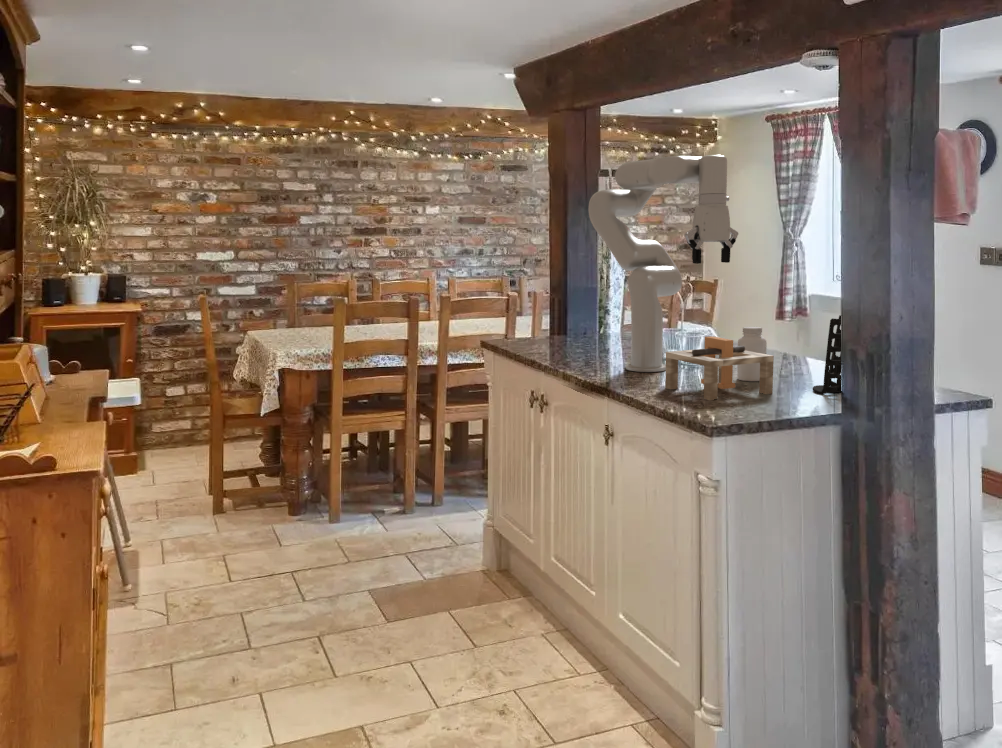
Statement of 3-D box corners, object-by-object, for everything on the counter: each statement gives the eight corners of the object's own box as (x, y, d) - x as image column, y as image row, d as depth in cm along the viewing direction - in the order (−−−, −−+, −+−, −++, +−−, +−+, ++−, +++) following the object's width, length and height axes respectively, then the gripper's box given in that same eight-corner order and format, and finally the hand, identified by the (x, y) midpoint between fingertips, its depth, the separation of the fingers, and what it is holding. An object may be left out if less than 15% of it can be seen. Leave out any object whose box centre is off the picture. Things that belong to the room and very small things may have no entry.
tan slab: (722, 389, 244) (723, 341, 242) (701, 383, 253) (701, 337, 251) (735, 387, 246) (736, 340, 244) (713, 382, 255) (714, 336, 253)
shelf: (709, 400, 237) (710, 355, 235) (665, 388, 255) (665, 346, 253) (772, 393, 245) (773, 349, 243) (725, 382, 263) (726, 341, 261)
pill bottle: (744, 376, 272) (745, 325, 269) (770, 378, 267) (772, 326, 264) (732, 380, 266) (733, 327, 263) (758, 382, 261) (760, 329, 258)
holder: (811, 386, 253) (822, 313, 249) (841, 389, 251) (852, 316, 247) (812, 393, 242) (824, 317, 238) (843, 397, 240) (855, 321, 236)
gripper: (729, 201, 265) (728, 261, 268) (678, 201, 258) (677, 263, 261) (746, 200, 258) (744, 262, 261) (694, 200, 252) (693, 264, 254)
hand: (711, 262), depth 261 cm, fingers open, 9 cm apart
